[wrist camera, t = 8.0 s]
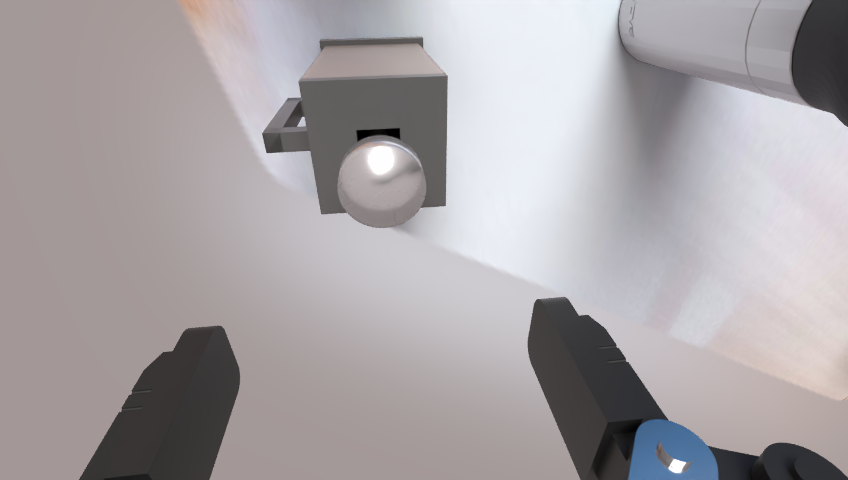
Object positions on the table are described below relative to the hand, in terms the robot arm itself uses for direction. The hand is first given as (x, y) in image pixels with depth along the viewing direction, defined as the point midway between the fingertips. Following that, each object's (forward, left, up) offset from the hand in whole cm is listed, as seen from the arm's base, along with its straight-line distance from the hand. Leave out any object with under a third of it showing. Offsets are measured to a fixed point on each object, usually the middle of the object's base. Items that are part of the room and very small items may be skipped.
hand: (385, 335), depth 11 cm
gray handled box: (+1, 0, -30) cm, 30 cm away
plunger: (0, 0, -26) cm, 26 cm away
